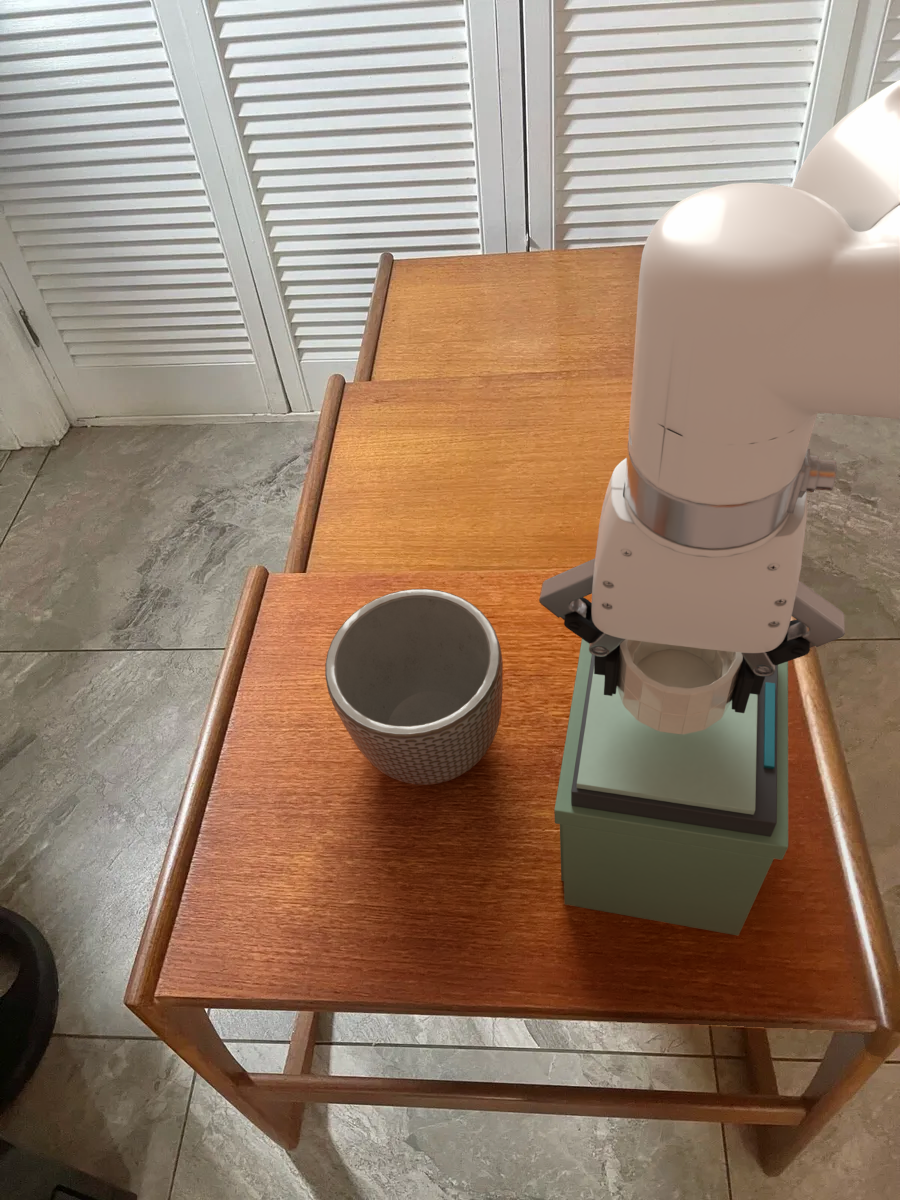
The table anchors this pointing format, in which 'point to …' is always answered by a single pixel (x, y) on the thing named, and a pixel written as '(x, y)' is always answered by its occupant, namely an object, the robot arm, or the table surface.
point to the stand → (664, 847)
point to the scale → (680, 764)
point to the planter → (418, 684)
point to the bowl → (676, 684)
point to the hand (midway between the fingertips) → (674, 682)
